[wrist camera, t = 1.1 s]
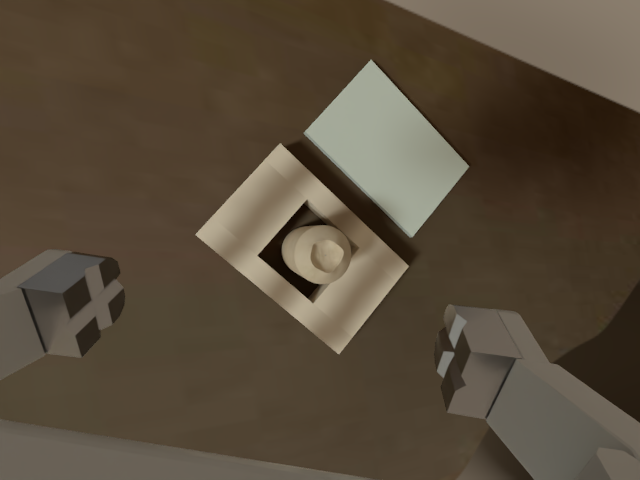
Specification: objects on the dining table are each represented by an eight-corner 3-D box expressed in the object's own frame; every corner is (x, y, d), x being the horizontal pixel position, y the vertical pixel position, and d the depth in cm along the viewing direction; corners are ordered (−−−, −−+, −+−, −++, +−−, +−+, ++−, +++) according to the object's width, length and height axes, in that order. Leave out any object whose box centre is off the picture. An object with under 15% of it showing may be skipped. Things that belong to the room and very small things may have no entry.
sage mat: (303, 133, 41) (305, 131, 40) (368, 62, 43) (371, 59, 42) (409, 236, 45) (412, 236, 44) (465, 167, 46) (469, 166, 46)
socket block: (197, 234, 38) (195, 234, 36) (276, 149, 40) (280, 143, 37) (331, 346, 42) (338, 354, 40) (397, 264, 44) (409, 266, 41)
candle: (324, 224, 42) (353, 221, 32) (329, 270, 42) (359, 281, 33) (278, 229, 41) (293, 228, 31) (283, 277, 41) (300, 290, 31)
